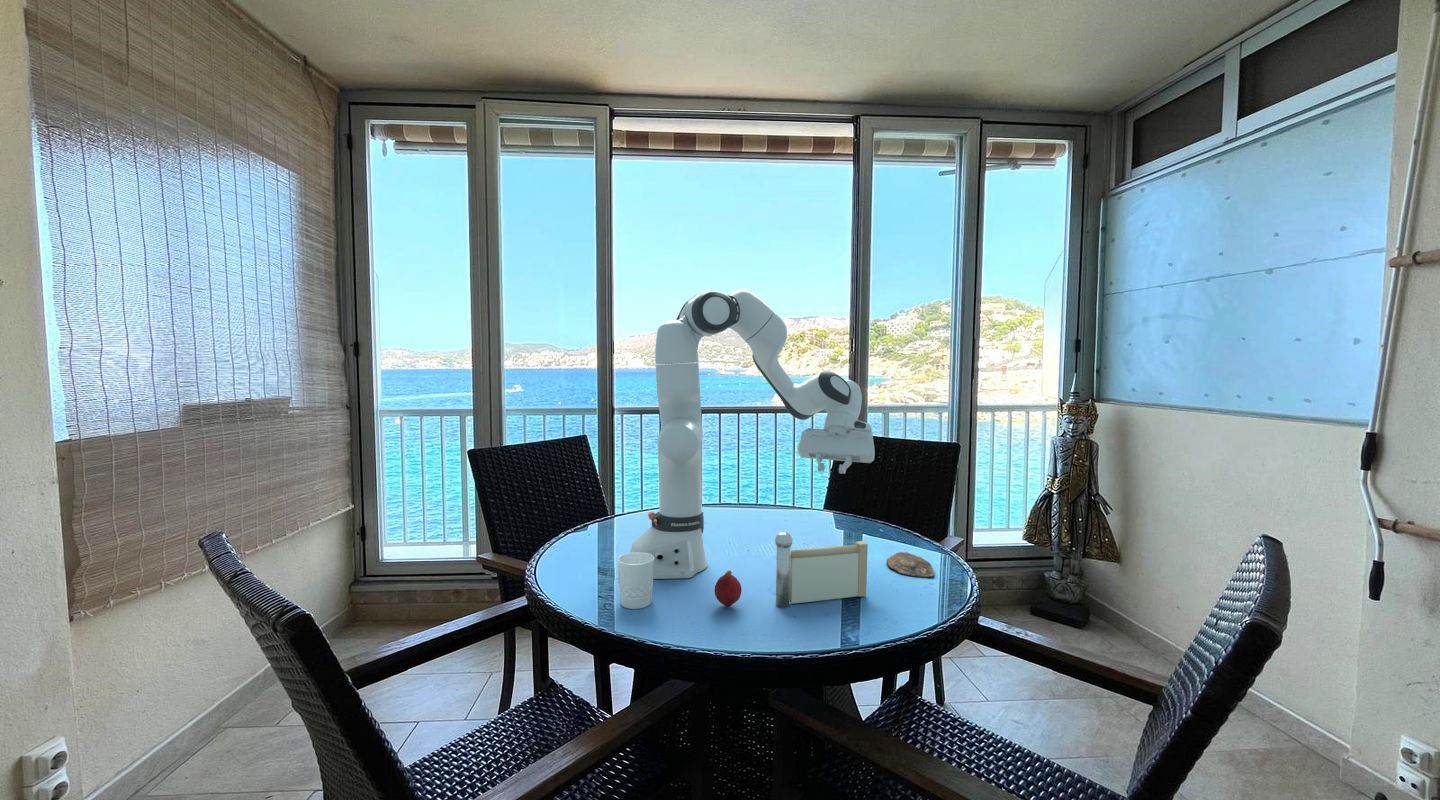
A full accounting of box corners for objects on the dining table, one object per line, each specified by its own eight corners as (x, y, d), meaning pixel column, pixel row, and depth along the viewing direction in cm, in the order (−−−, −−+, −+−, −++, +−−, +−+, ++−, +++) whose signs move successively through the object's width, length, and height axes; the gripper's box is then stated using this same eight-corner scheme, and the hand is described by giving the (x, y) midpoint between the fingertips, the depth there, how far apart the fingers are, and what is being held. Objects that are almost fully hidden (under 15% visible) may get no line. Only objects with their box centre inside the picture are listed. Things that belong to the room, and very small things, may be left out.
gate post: (777, 609, 118) (779, 535, 117) (771, 602, 121) (772, 530, 120) (794, 607, 119) (795, 534, 118) (787, 600, 122) (788, 529, 121)
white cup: (647, 612, 116) (647, 566, 115) (612, 608, 117) (612, 563, 116) (658, 597, 123) (658, 553, 123) (625, 593, 125) (625, 551, 124)
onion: (732, 615, 115) (732, 577, 114) (709, 608, 118) (709, 572, 117) (745, 605, 119) (746, 569, 119) (723, 599, 123) (723, 564, 122)
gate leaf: (792, 604, 119) (793, 550, 119) (788, 600, 121) (789, 547, 121) (866, 595, 124) (867, 544, 123) (861, 591, 126) (862, 541, 126)
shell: (887, 575, 139) (887, 561, 138) (886, 559, 151) (886, 546, 151) (935, 581, 136) (935, 566, 135) (930, 563, 148) (930, 550, 148)
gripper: (801, 420, 152) (790, 460, 144) (876, 424, 144) (869, 467, 135) (805, 435, 157) (794, 474, 148) (878, 439, 148) (871, 481, 140)
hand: (831, 471), depth 142 cm, fingers open, 4 cm apart
